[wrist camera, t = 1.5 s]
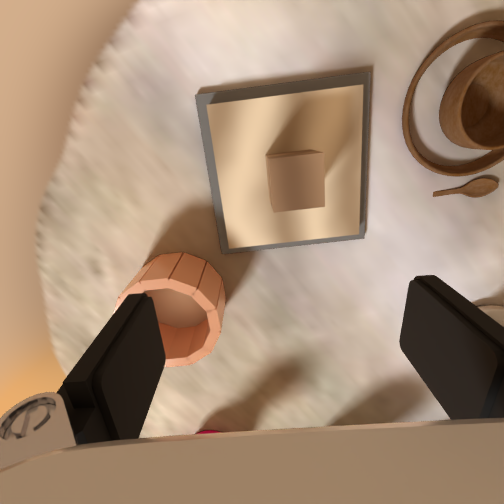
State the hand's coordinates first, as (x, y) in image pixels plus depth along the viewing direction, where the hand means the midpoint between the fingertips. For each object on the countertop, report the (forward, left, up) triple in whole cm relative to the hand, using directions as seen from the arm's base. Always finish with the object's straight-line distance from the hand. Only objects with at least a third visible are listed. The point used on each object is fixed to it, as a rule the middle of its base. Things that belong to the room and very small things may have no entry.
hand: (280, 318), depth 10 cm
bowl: (+10, +9, -20) cm, 24 cm away
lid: (-3, -3, -19) cm, 19 cm away
